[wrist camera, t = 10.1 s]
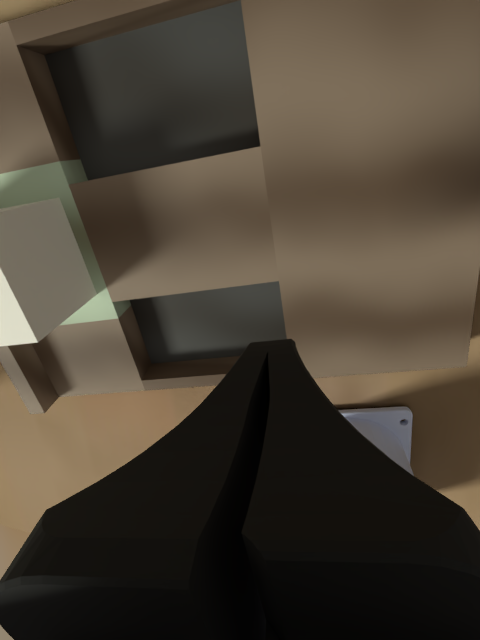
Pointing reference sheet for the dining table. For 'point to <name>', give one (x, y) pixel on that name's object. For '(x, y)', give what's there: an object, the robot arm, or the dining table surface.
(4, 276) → the block
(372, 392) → the dining table surface
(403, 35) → the trap deck
